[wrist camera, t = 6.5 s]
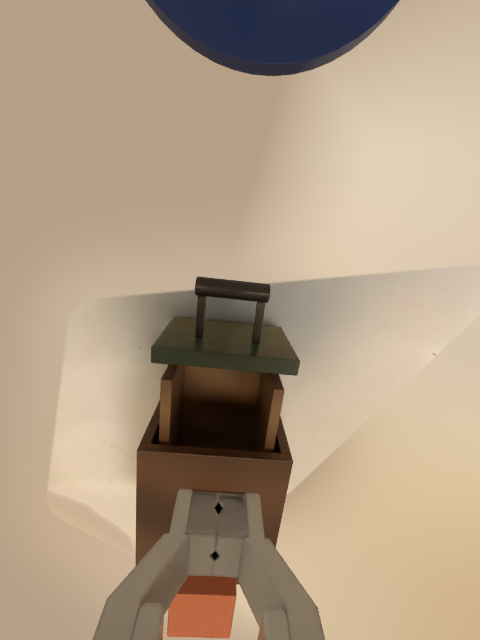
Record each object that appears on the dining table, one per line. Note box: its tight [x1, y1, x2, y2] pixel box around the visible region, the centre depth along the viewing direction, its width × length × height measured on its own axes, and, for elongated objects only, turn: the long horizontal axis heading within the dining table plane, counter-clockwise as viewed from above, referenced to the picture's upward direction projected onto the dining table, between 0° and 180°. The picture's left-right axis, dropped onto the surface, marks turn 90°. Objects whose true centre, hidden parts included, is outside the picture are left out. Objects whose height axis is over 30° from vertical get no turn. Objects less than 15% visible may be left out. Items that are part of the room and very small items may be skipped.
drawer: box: [151, 277, 300, 453], centre depth 24 cm, size 17×10×8 cm, turn 174°
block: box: [167, 575, 236, 638], centre depth 21 cm, size 4×4×4 cm
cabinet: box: [136, 400, 293, 584], centre depth 27 cm, size 14×12×10 cm
